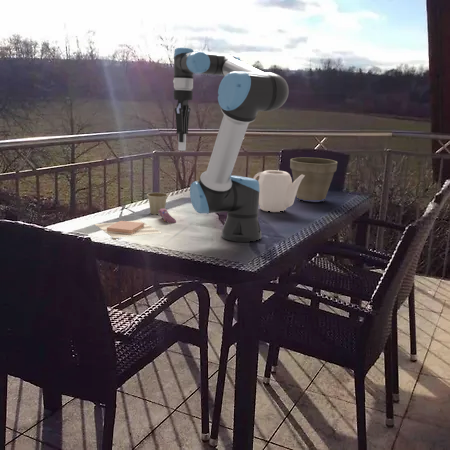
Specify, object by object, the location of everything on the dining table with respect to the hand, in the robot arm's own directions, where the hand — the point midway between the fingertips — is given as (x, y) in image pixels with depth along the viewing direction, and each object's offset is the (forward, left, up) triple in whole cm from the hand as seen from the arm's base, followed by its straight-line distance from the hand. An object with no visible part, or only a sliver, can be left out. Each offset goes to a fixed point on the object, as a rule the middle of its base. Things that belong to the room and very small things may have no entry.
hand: (182, 150), depth 205 cm
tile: (+1, +21, -29) cm, 36 cm away
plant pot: (+21, -89, -31) cm, 96 cm away
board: (-2, +24, -30) cm, 39 cm away
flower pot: (+21, +1, -31) cm, 37 cm away
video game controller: (+5, +4, -31) cm, 31 cm away
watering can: (+6, -54, -31) cm, 62 cm away
